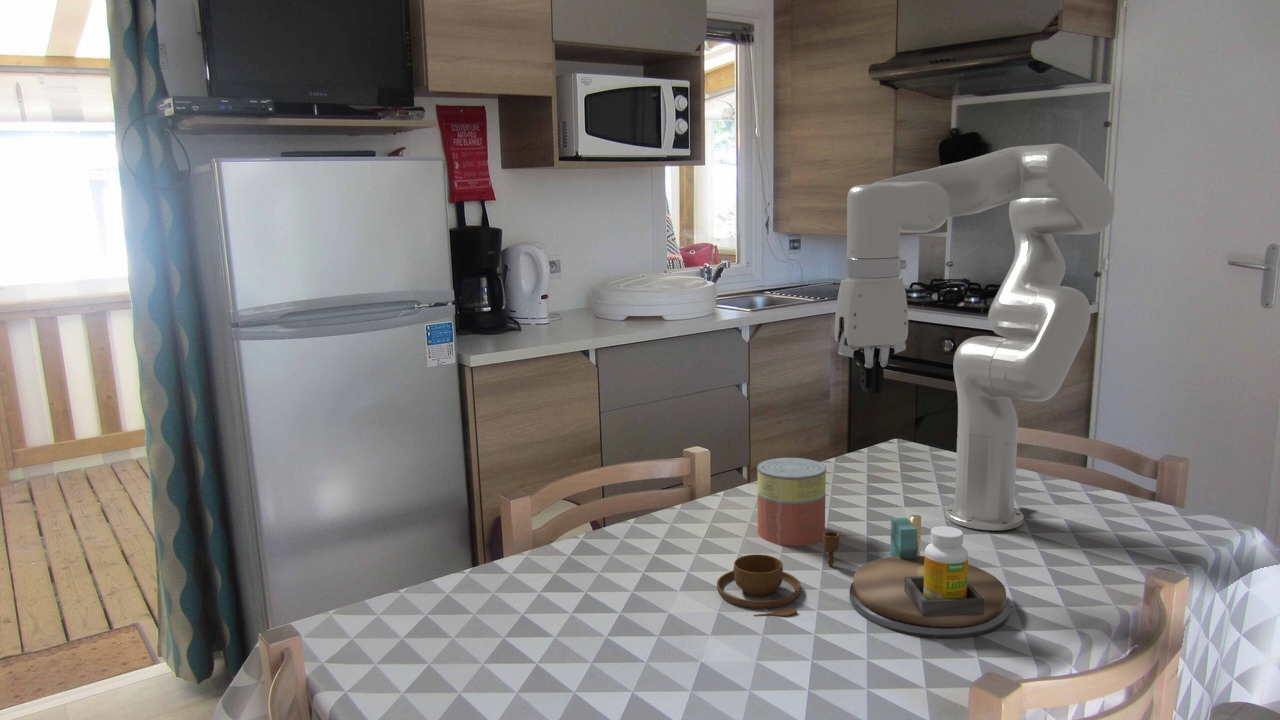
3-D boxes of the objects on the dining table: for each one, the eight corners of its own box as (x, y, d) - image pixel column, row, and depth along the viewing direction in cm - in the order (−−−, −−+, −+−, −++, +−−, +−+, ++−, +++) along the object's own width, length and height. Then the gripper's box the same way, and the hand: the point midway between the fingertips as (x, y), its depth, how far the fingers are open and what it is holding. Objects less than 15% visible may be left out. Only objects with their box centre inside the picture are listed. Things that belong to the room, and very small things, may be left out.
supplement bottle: (947, 614, 116) (949, 542, 114) (914, 599, 121) (916, 529, 119) (975, 603, 119) (978, 532, 117) (941, 589, 123) (944, 521, 122)
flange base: (897, 560, 141) (898, 510, 139) (1035, 598, 126) (1038, 543, 125) (820, 605, 126) (820, 550, 124) (966, 655, 111) (969, 593, 110)
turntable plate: (1031, 624, 116) (1033, 580, 115) (874, 629, 116) (875, 584, 115) (963, 553, 140) (964, 515, 139) (832, 557, 139) (833, 519, 138)
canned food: (817, 523, 158) (817, 456, 156) (832, 547, 147) (833, 475, 145) (752, 525, 158) (752, 458, 156) (763, 549, 147) (762, 478, 145)
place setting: (708, 572, 140) (707, 536, 139) (836, 565, 141) (836, 529, 140) (727, 624, 122) (727, 583, 121) (873, 615, 124) (874, 574, 123)
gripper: (904, 265, 139) (902, 383, 142) (814, 270, 135) (814, 391, 138) (932, 268, 132) (929, 392, 135) (839, 274, 128) (838, 401, 131)
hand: (871, 391), depth 137 cm, fingers closed
